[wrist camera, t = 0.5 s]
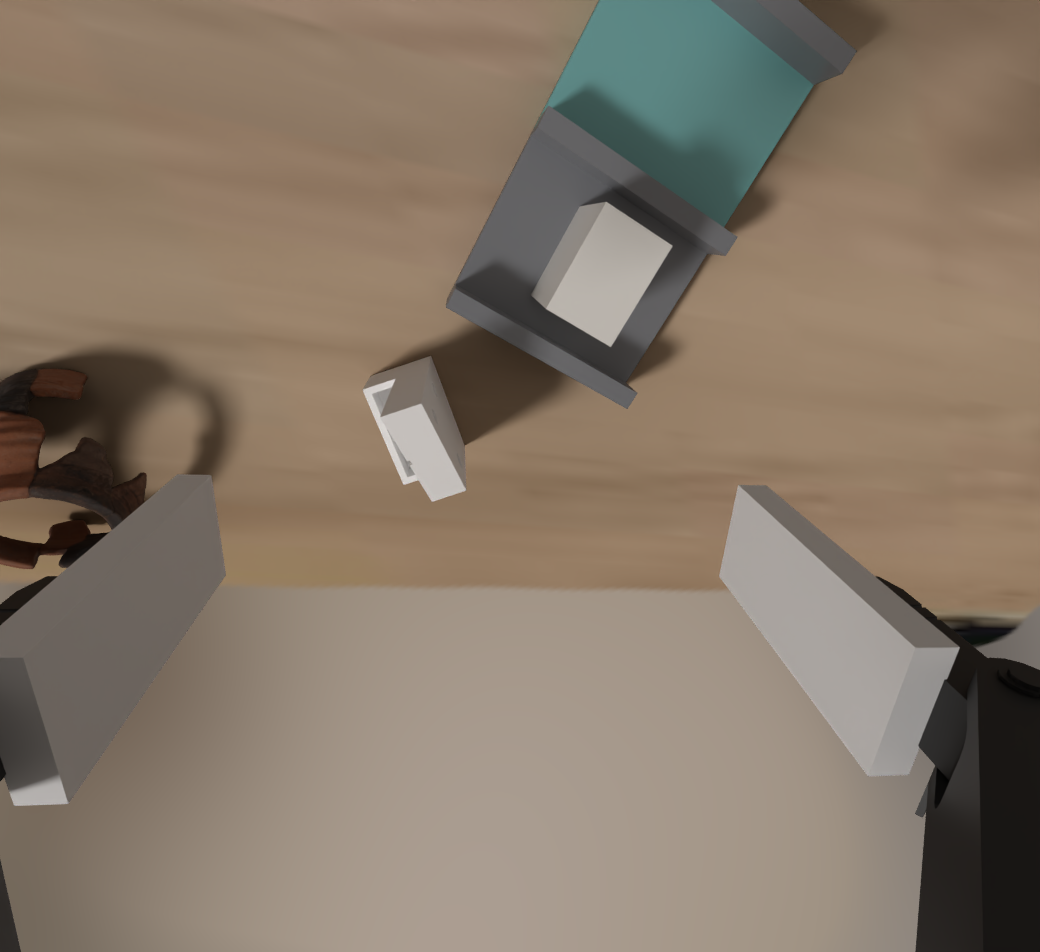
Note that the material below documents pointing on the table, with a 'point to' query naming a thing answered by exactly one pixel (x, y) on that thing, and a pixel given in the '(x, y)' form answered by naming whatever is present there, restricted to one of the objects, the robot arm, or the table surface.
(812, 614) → the robot arm
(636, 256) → the white rectangular block
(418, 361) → the white wedge bracket
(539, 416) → the table surface
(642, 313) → the two-compartment cubby shelf
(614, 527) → the table surface
